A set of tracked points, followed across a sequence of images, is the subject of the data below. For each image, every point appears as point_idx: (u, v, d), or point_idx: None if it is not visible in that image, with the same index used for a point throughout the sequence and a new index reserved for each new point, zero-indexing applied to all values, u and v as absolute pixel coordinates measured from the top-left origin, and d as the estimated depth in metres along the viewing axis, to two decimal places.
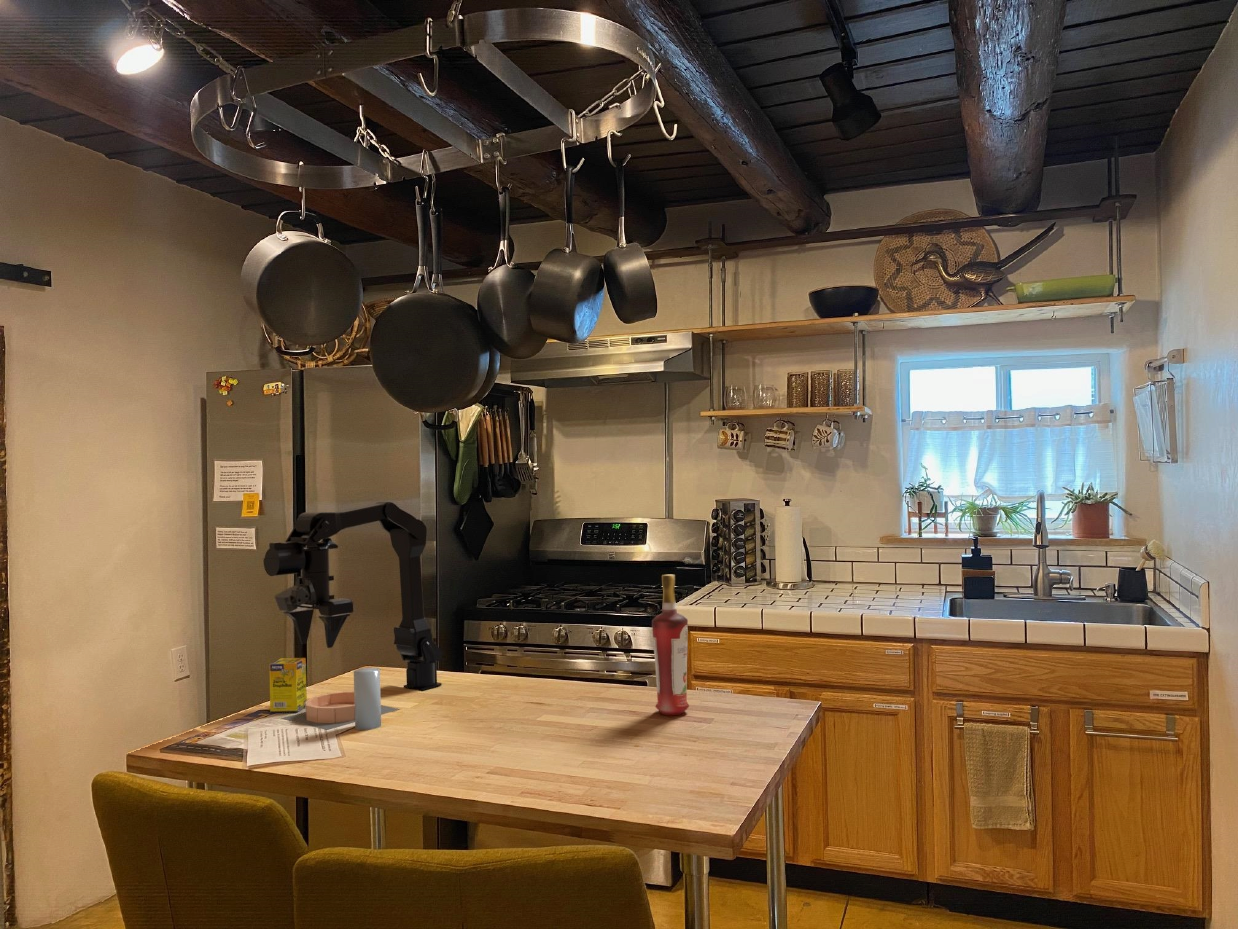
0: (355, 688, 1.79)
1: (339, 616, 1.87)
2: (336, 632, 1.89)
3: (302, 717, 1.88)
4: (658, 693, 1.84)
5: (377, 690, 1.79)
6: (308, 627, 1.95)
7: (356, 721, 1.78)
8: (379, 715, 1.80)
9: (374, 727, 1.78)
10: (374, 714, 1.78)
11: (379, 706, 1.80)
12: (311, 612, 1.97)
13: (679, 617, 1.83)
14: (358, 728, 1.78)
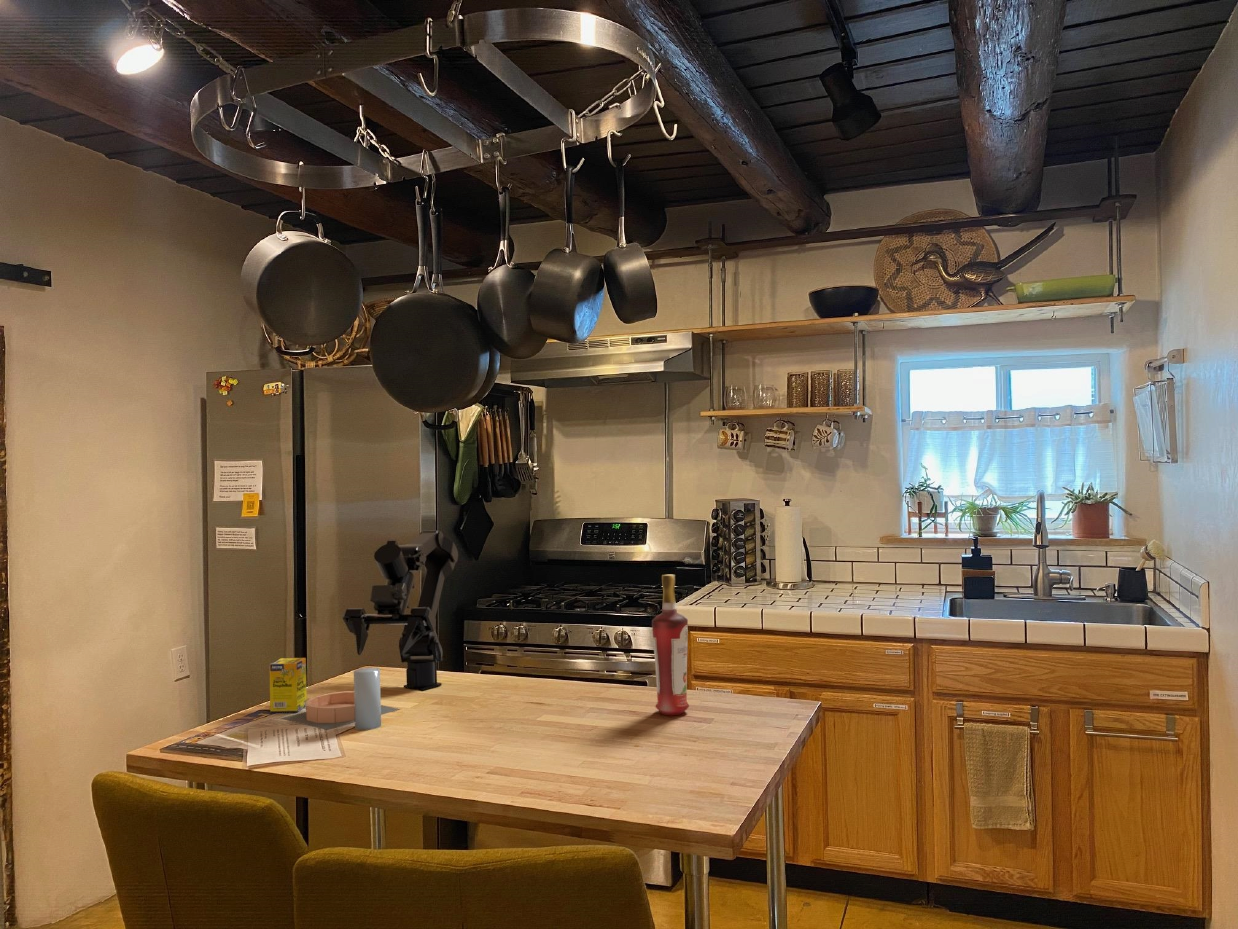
0: (355, 688, 1.79)
1: (424, 626, 1.92)
2: (410, 643, 1.90)
3: (302, 717, 1.88)
4: (658, 693, 1.84)
5: (377, 690, 1.79)
6: (364, 644, 1.91)
7: (356, 721, 1.78)
8: (379, 715, 1.80)
9: (374, 727, 1.78)
10: (374, 714, 1.78)
11: (379, 706, 1.80)
12: (367, 634, 1.94)
13: (679, 617, 1.83)
14: (358, 728, 1.78)
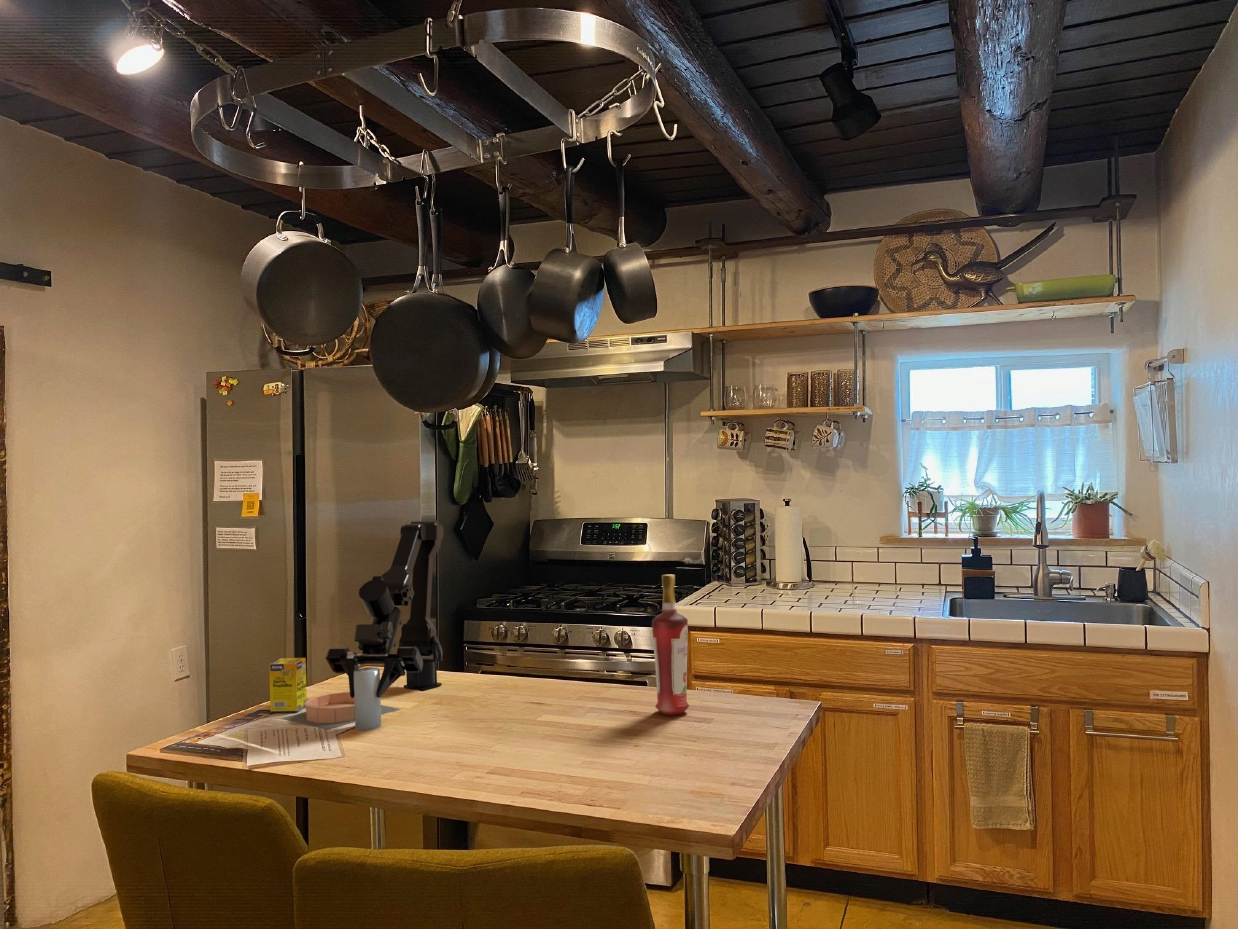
0: (355, 688, 1.79)
1: (402, 667, 1.83)
2: (387, 685, 1.81)
3: (302, 717, 1.88)
4: (658, 693, 1.84)
5: None
6: None
7: (356, 721, 1.78)
8: (379, 715, 1.80)
9: (374, 727, 1.78)
10: (374, 714, 1.78)
11: (379, 706, 1.80)
12: None
13: (679, 617, 1.83)
14: (358, 728, 1.78)
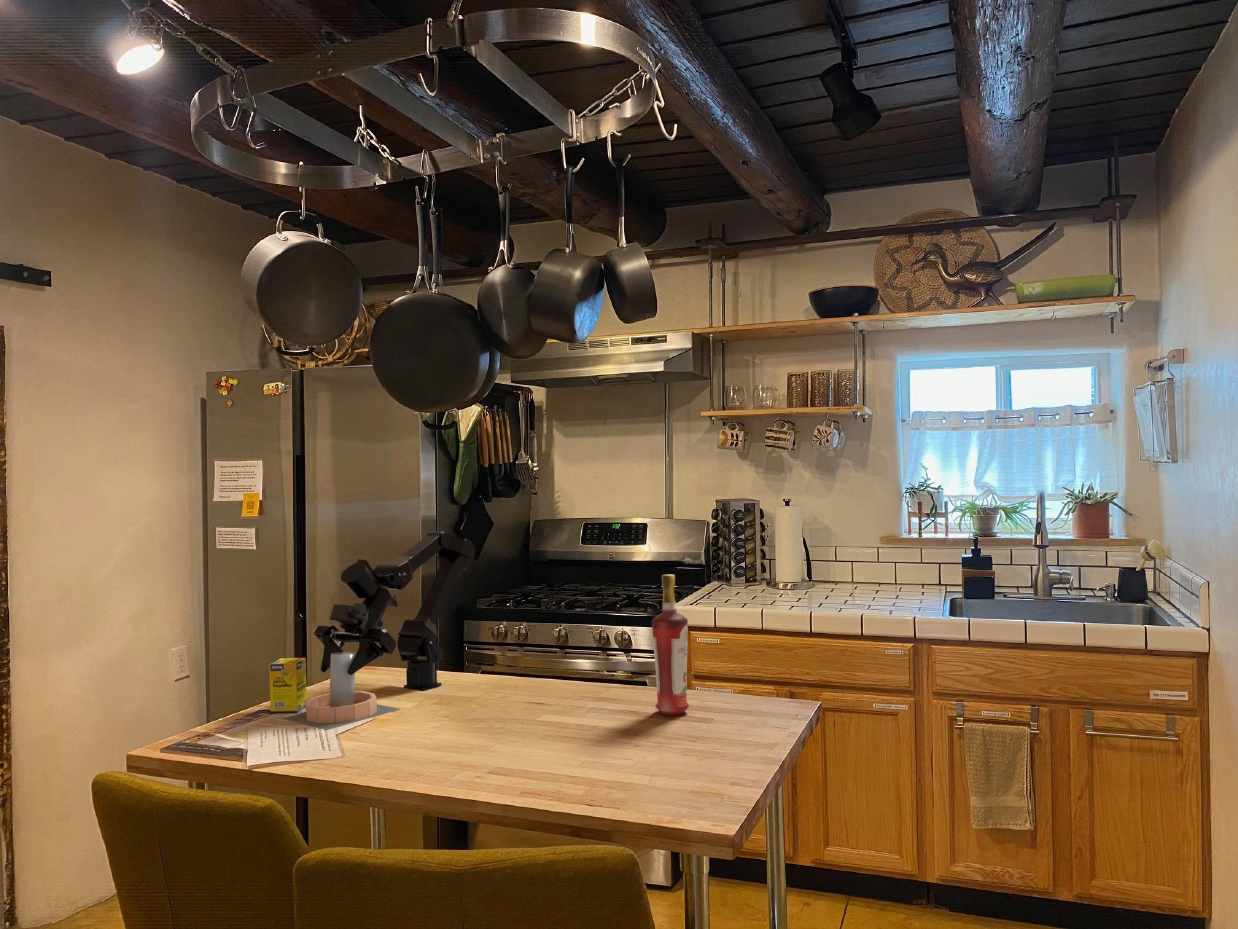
0: (330, 669, 1.90)
1: (377, 647, 1.90)
2: (362, 664, 1.90)
3: (302, 717, 1.88)
4: (658, 693, 1.84)
5: None
6: None
7: (329, 700, 1.90)
8: (350, 697, 1.89)
9: None
10: (344, 695, 1.88)
11: (350, 689, 1.89)
12: None
13: (679, 617, 1.83)
14: None
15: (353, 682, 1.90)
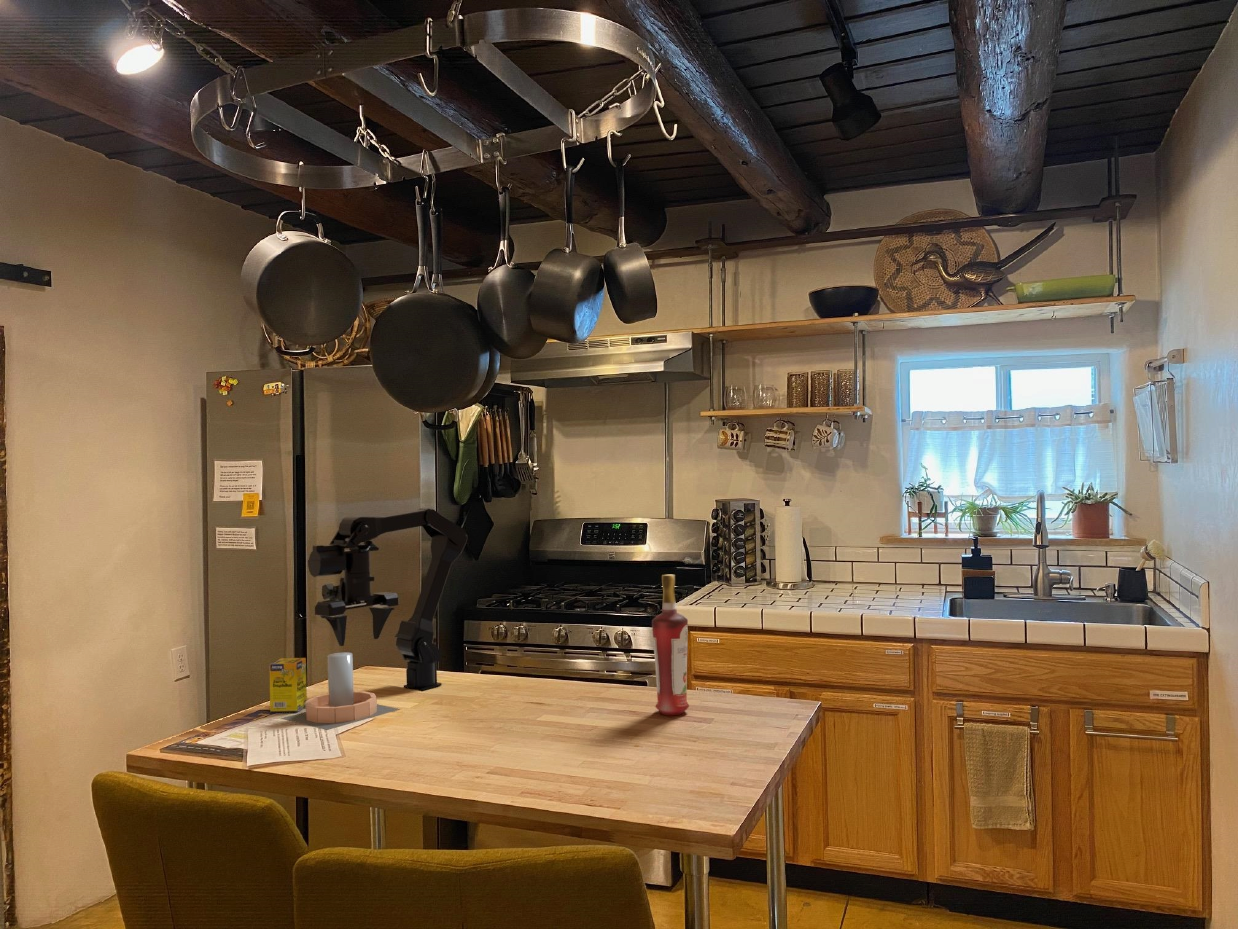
0: (328, 671, 1.90)
1: (327, 617, 1.96)
2: (340, 632, 1.98)
3: (302, 717, 1.88)
4: (658, 693, 1.84)
5: (345, 674, 1.89)
6: (379, 625, 2.06)
7: (329, 702, 1.90)
8: (349, 698, 1.89)
9: None
10: (343, 696, 1.88)
11: (349, 689, 1.89)
12: (383, 611, 2.05)
13: (679, 617, 1.83)
14: None
15: (351, 682, 1.90)
